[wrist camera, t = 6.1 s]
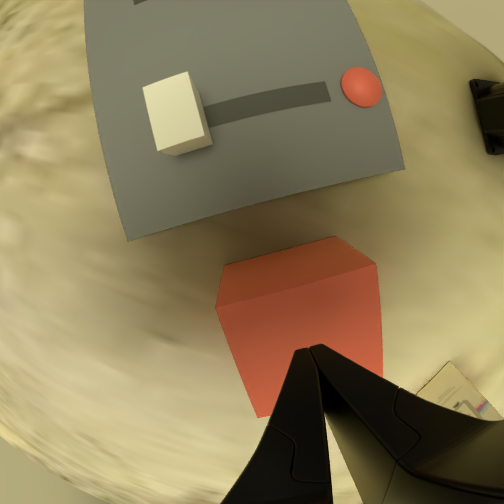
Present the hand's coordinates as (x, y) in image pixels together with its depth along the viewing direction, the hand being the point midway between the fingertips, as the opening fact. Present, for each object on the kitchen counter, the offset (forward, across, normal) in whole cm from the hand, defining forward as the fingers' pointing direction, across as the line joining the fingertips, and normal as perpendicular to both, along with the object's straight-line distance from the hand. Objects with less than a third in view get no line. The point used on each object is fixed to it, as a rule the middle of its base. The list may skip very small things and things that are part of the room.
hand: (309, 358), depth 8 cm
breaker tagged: (+8, +3, -9) cm, 12 cm away
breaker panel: (+10, 0, -14) cm, 17 cm away
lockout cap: (+10, -1, +3) cm, 11 cm away
